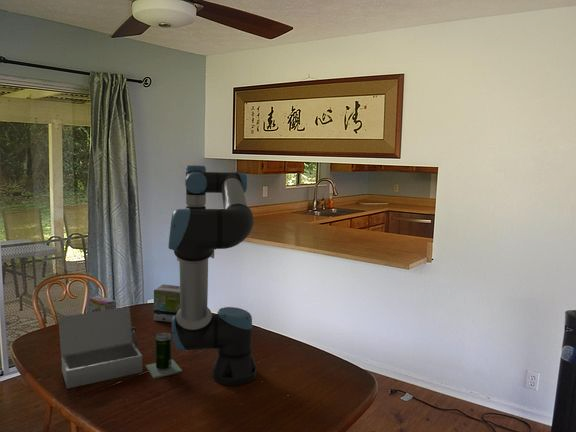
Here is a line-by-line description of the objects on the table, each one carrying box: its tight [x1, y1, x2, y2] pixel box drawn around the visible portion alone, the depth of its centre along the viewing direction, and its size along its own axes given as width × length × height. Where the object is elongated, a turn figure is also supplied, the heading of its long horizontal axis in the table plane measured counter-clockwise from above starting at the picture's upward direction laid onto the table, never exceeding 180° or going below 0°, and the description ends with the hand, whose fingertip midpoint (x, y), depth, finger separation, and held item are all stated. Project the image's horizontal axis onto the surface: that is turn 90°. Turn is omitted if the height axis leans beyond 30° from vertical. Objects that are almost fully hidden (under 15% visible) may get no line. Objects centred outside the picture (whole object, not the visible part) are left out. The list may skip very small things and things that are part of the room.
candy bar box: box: [88, 295, 117, 313], centre depth 190 cm, size 11×5×16 cm, turn 58°
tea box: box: [153, 283, 181, 323], centre depth 214 cm, size 15×10×15 cm, turn 81°
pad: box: [145, 359, 183, 380], centre depth 165 cm, size 10×10×1 cm
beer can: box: [155, 332, 172, 371], centre depth 164 cm, size 5×5×12 cm
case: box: [58, 306, 143, 389], centre depth 163 cm, size 18×25×18 cm
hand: (195, 259), depth 183 cm, fingers open, 13 cm apart
